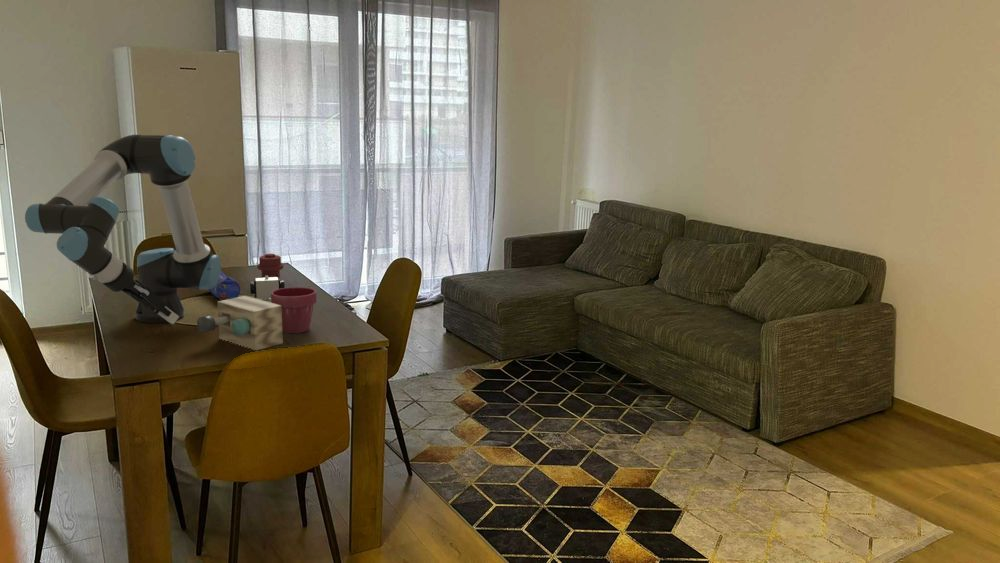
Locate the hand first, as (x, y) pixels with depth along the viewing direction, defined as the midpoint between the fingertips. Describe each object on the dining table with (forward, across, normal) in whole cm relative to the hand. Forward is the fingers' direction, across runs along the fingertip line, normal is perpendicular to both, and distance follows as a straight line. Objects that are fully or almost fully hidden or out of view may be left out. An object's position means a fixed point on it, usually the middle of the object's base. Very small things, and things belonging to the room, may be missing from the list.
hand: (174, 319), depth 222 cm
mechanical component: (+62, -53, +45) cm, 93 cm away
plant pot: (+37, +3, +20) cm, 42 cm away
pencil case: (+45, -51, +28) cm, 74 cm away
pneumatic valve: (+45, -24, +28) cm, 58 cm away
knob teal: (+20, +8, +10) cm, 23 cm away
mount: (+25, +3, +8) cm, 26 cm away
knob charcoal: (+16, -2, +7) cm, 18 cm away
